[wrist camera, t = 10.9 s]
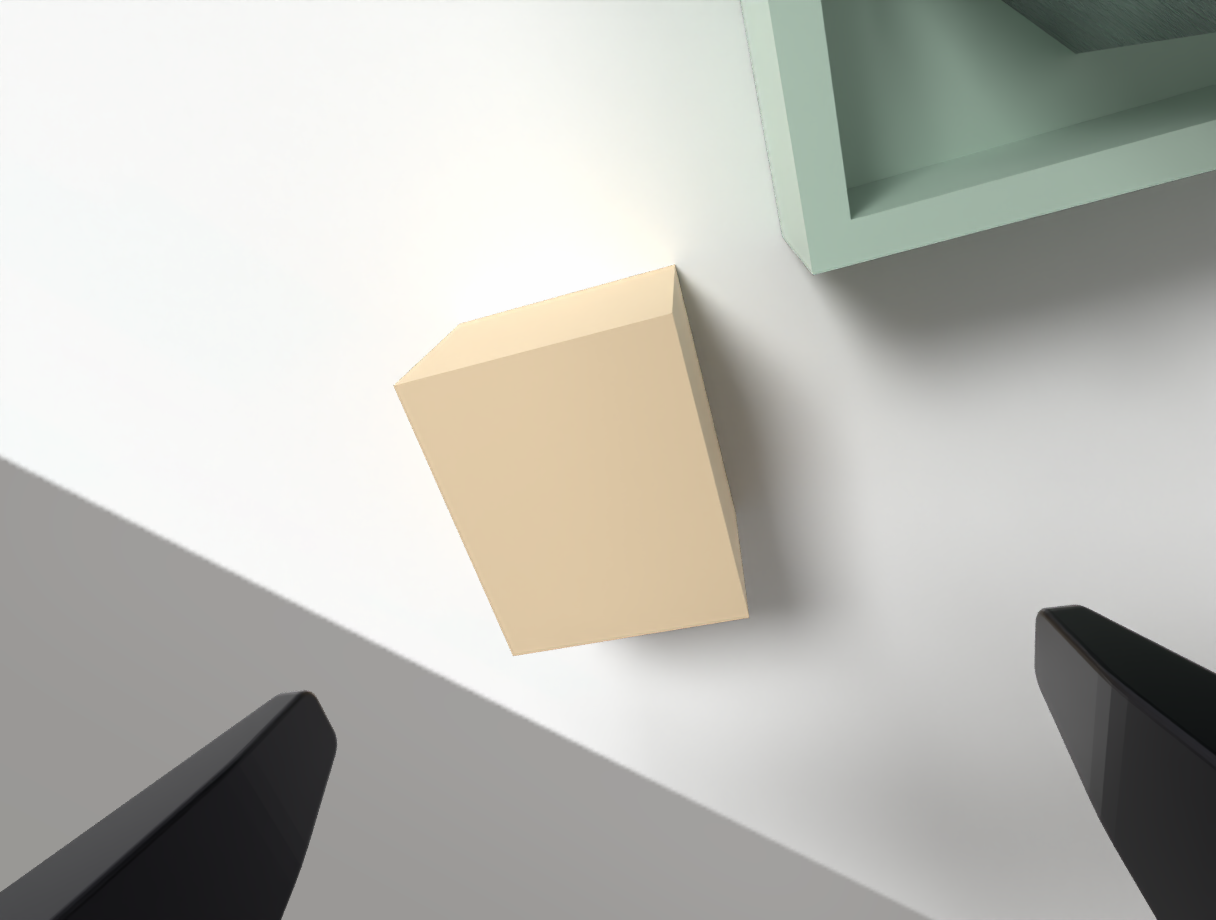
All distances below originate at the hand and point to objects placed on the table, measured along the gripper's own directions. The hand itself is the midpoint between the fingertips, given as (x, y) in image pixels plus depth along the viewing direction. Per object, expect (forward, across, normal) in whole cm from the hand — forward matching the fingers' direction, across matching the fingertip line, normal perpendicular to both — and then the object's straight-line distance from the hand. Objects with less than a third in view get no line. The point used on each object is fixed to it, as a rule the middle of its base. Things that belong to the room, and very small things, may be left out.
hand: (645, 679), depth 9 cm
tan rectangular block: (+12, +2, +1) cm, 12 cm away
